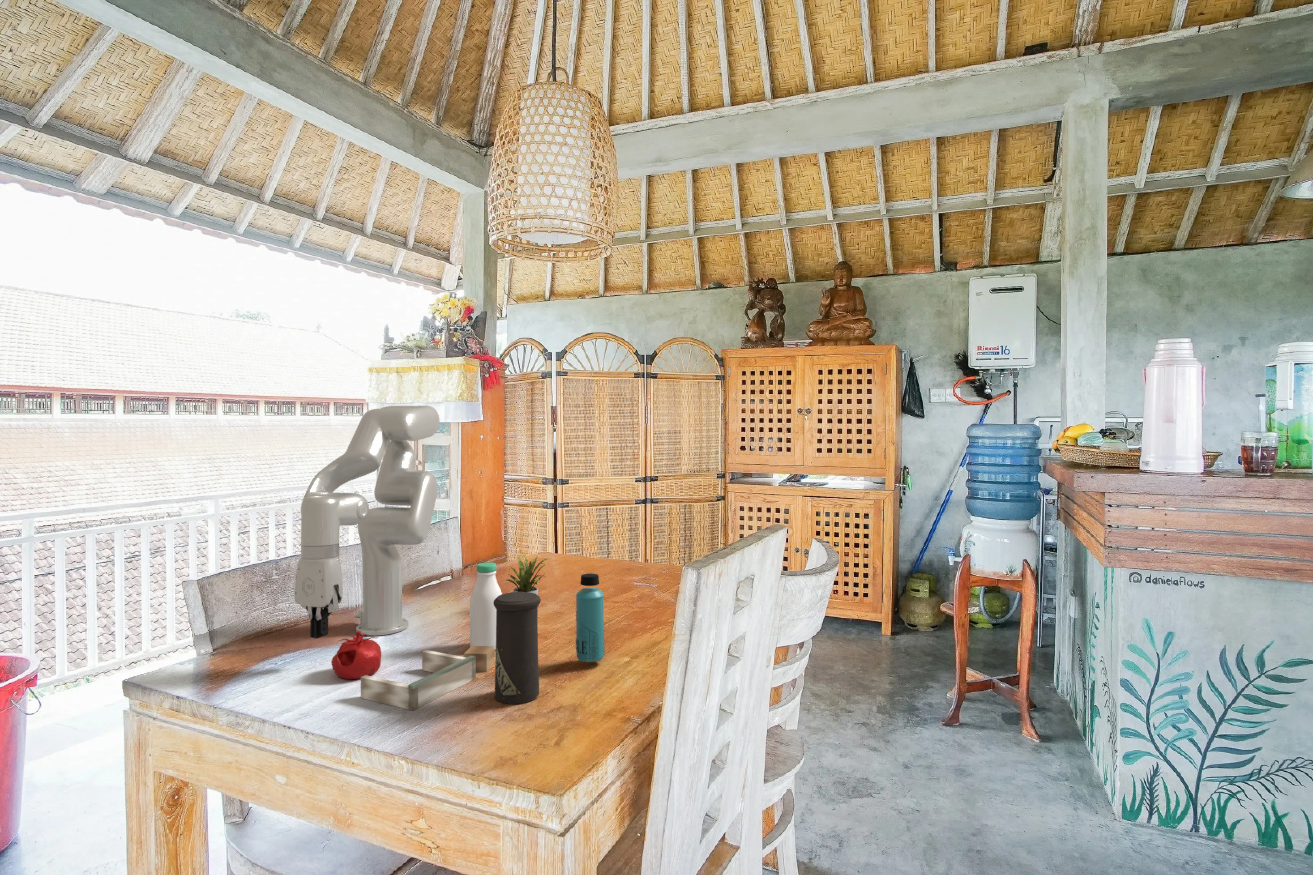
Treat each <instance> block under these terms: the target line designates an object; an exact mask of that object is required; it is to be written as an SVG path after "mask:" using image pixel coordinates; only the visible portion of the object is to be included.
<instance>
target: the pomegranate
mask: <svg viewBox="0 0 1313 875" xmlns="http://www.w3.org/2000/svg"><path fill="white" fill-rule="evenodd" d="M365 636H367V635H366V634H363V635H361V631H357V632H356V631H355V635H352V636H350V637H351V638H352V639H349V638H343V639H340V640H338V641H340V642H341V641H343V642H342V643H341V645H340V646H339V648H338V649H337V651H336V653H335V655H334V656H333V657H332V659H331V661H330V663H331V667H332V670H333V672H334V674H335V675H336V676H338V678H339V677H340V678H342V679H345V680H357V679H360V680H361V677H363V676H365V675H367V676H372V675H375V674H376V673H377V672H378V671H379V669H380V668H381V664H382V649H381V646H380V644H378V642H377V641H375V640H373V639H376V637H375V636H371V637H368V638H364V637H365Z"/></svg>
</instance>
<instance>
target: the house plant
mask: <svg viewBox="0 0 1313 875" xmlns="http://www.w3.org/2000/svg"><path fill="white" fill-rule="evenodd" d="M520 555H521V554H520ZM522 555H523V556H522ZM522 555H521V556H522V559H523V561H522V560H521V558H520V557H517V563H518V571H519V572H518V571H517V570H516V568H514V567H513V566H512V565H510V564H508V563H507V562H505V561H503V563H505V564H506V565H508V567H510V569H511V570H512V571H513V572H514V573H515V575H516V577H515V576H514V575H512V574H509V573H508V576H509V577H510V578H511V579H505V581H507V582H510V583H512V584H513V585H515V586H516V587H514V588H513V590H512V592H531V593H535V594H537V595H538V596H539V588H538V587H537V586H538V583H541V582H540V581H541V579H542V577H543V578H545V579H546V578H547V577H546V576H545V575H548V574H549V572H546V573H544V574H539V572H540V571H541V569H542V568H543V567H545V566H547V565H549V563H544V562H545V561H547V560H550V559H551V557H549V558H544V559H542V560H540V562H538V563H537V559H538V556H535V557H534V558H533V559H532V560H531V561H529V562H528V559H527V557H526V555H525V554H524V553H522ZM536 564H537V565H536ZM540 565H542V566H540ZM538 568H539V569H538ZM537 569H538V570H537ZM536 570H537V572H536ZM535 572H536V573H535ZM534 574H535V575H534ZM533 575H534V576H533ZM536 578H537V579H536ZM535 585H536V586H535Z"/></svg>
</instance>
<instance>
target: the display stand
mask: <svg viewBox="0 0 1313 875" xmlns="http://www.w3.org/2000/svg"><path fill="white" fill-rule="evenodd" d="M421 660H422V661H421V664H422V666H421V667H422V668H421V669H422V670H421V671H426V672H430V673H431V674H428V675H426V676H425V677H422V678H420V679H418V680H416V681H413V682H411V683H410V684H407V683H402V682H398V681H394V680H390V679H384V678H380V677H377V676H376V677H375V676H372V675H370V676H367V675H365V676H363V677H361V678H360V698H361V699H365V700H369V701H372V702H377V703H382V704H385V705H389V706H393V707H397V708H401V709H405V710H409V711H415V710H417V709H419V708H421V707H423V706H425V705H427V704H428V703H431V702H433V701H434V700H437V699H438V698H440V697H441V698H442V696H444V695H446V694H448V693H450V692H452V691H454V690H456V689H458V688H460V687H462V686H464V685H466V684H468V683H469V682H472V681H473V680H475V679H477V676H476V675H477V672H476V656H469V657H467V658H466V657H464V656H460V655H454V654H451V653H449V654H448V653H444V652H439V651H433V650H427V649H425V650H424V651H422V652H421Z"/></svg>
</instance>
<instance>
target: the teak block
mask: <svg viewBox="0 0 1313 875" xmlns="http://www.w3.org/2000/svg"><path fill="white" fill-rule="evenodd" d="M469 656H476V673H477V672H479V673H486V672H488V671H489V670H490V669H491V667H493V666H494V665H495V651H494V646H471V647H470V646H469V648H468V649H467V650H466V651H465V652H464V653H463V657H466V658H467V657H469Z"/></svg>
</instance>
